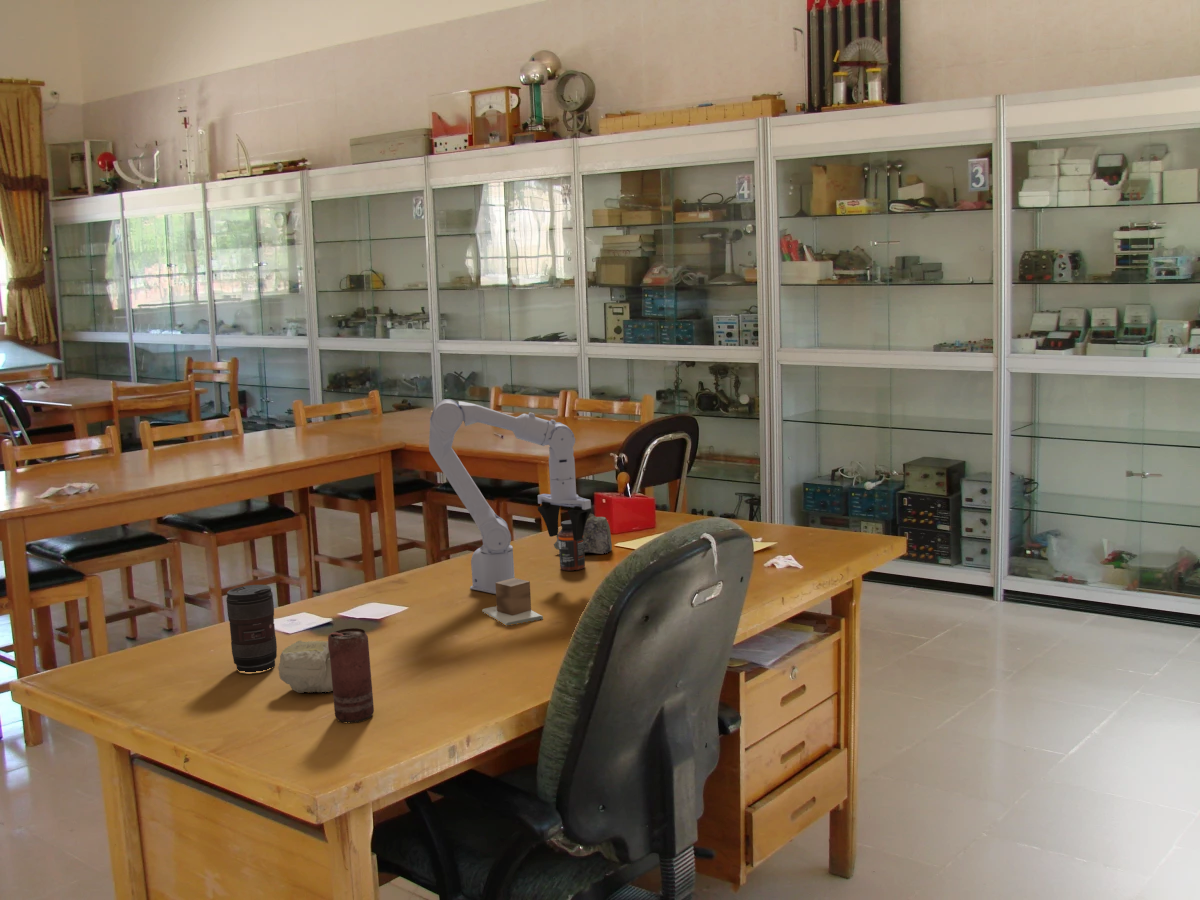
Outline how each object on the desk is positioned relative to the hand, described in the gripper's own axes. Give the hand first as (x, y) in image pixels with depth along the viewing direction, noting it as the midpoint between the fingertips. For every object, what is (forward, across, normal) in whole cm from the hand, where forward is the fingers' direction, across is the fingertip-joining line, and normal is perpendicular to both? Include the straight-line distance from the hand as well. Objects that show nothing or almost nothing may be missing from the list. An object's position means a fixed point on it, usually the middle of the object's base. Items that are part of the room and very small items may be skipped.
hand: (565, 537), depth 258 cm
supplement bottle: (+11, +8, -10) cm, 17 cm away
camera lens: (+11, +9, +74) cm, 75 cm away
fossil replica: (+11, -10, +74) cm, 75 cm away
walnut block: (+10, -7, +24) cm, 27 cm away
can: (+11, -26, +78) cm, 83 cm away
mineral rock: (+11, +16, -24) cm, 31 cm away
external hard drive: (+12, -7, +25) cm, 28 cm away
